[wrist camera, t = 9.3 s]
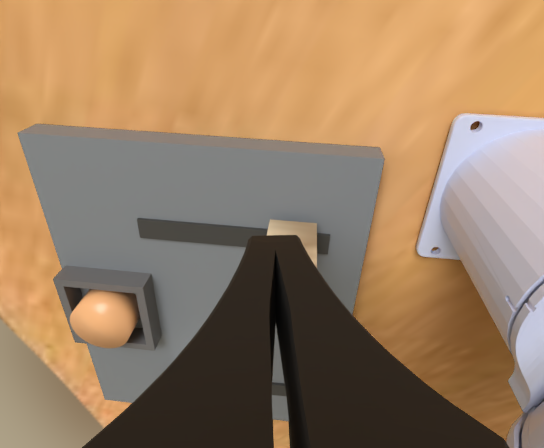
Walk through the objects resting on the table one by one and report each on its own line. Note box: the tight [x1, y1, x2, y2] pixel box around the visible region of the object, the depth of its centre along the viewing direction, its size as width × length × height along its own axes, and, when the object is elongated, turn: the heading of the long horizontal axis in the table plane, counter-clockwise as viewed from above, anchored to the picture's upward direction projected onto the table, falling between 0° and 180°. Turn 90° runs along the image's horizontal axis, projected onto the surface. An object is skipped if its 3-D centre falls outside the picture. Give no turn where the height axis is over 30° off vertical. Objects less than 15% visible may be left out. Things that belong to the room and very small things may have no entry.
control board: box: [18, 124, 384, 421], centre depth 24 cm, size 18×22×3 cm
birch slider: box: [267, 219, 317, 268], centre depth 18 cm, size 2×3×4 cm
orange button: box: [70, 289, 140, 348], centre depth 23 cm, size 4×4×2 cm
